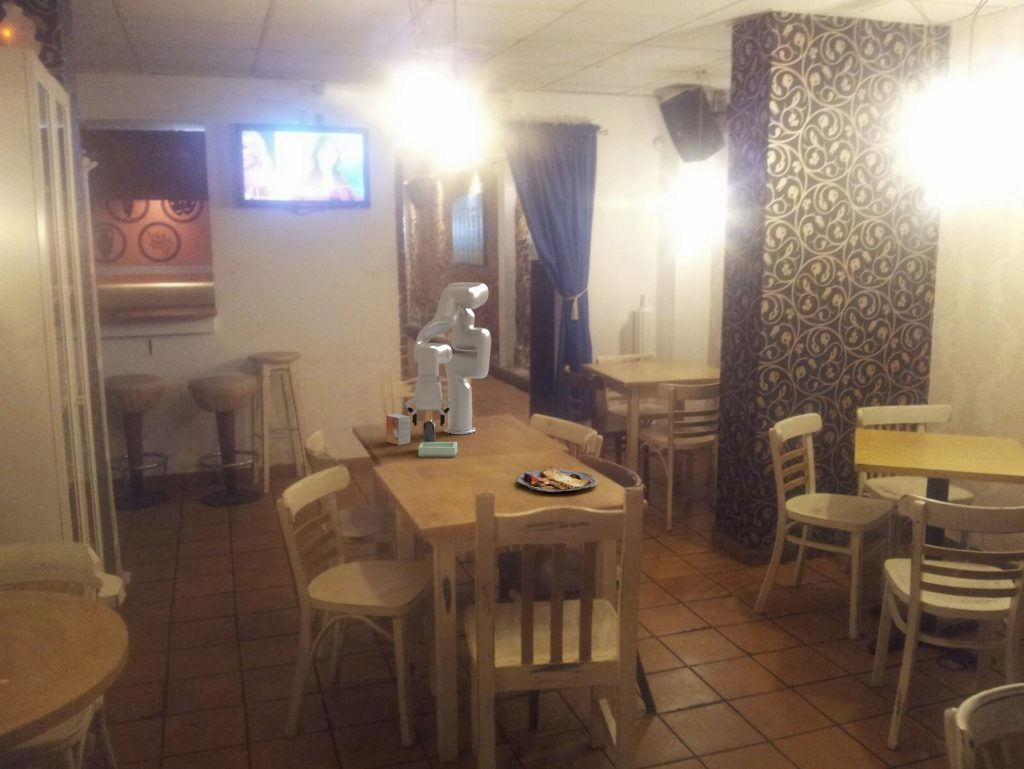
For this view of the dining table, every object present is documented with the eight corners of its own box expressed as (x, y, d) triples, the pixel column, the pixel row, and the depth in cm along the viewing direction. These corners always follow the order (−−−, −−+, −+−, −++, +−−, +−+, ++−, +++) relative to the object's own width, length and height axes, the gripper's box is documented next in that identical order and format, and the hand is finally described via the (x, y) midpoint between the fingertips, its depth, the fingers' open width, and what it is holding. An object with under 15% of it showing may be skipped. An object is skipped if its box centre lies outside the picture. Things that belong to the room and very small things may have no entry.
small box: (386, 442, 337) (385, 415, 335) (398, 440, 341) (397, 413, 339) (398, 445, 331) (398, 418, 330) (410, 443, 335) (410, 416, 334)
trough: (421, 451, 322) (421, 441, 321) (457, 451, 321) (457, 442, 321) (418, 457, 313) (418, 447, 312) (455, 457, 313) (455, 447, 312)
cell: (424, 447, 328) (423, 418, 327) (436, 447, 328) (435, 418, 327) (422, 450, 324) (422, 421, 322) (435, 450, 324) (434, 421, 322)
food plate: (502, 481, 279) (502, 471, 278) (558, 471, 293) (559, 461, 292) (553, 502, 259) (553, 490, 259) (610, 490, 273) (611, 479, 273)
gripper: (453, 378, 326) (453, 423, 328) (406, 377, 326) (406, 423, 328) (451, 380, 318) (451, 427, 320) (403, 380, 318) (403, 426, 320)
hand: (428, 425), depth 324 cm, fingers open, 9 cm apart
